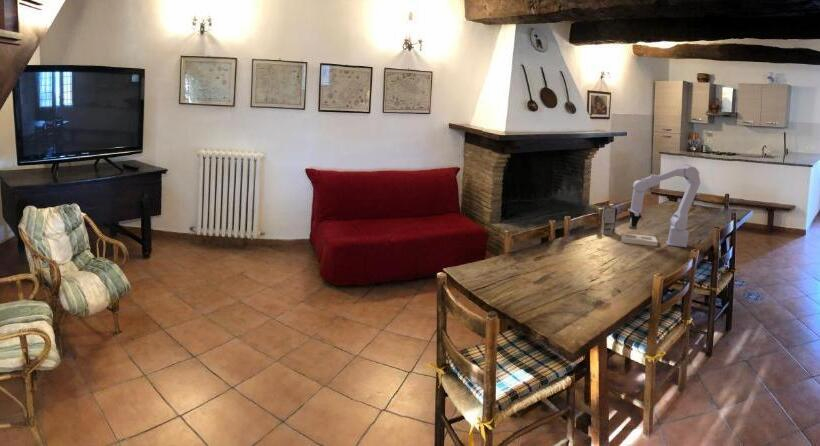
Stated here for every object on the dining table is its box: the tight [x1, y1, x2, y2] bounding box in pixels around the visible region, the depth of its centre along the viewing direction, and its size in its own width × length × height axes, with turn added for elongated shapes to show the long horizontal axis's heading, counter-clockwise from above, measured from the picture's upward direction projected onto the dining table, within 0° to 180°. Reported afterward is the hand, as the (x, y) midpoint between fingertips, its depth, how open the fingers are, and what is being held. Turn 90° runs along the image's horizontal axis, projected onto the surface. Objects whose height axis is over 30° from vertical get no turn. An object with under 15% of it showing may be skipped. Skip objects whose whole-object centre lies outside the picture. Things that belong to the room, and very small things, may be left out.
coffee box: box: [600, 204, 619, 237], centre depth 297 cm, size 9×6×16 cm
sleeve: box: [628, 219, 639, 231], centre depth 282 cm, size 4×4×6 cm
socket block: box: [620, 232, 658, 247], centre depth 284 cm, size 18×11×2 cm, turn 72°
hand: (633, 225), depth 282 cm, fingers closed on sleeve, 4 cm apart
